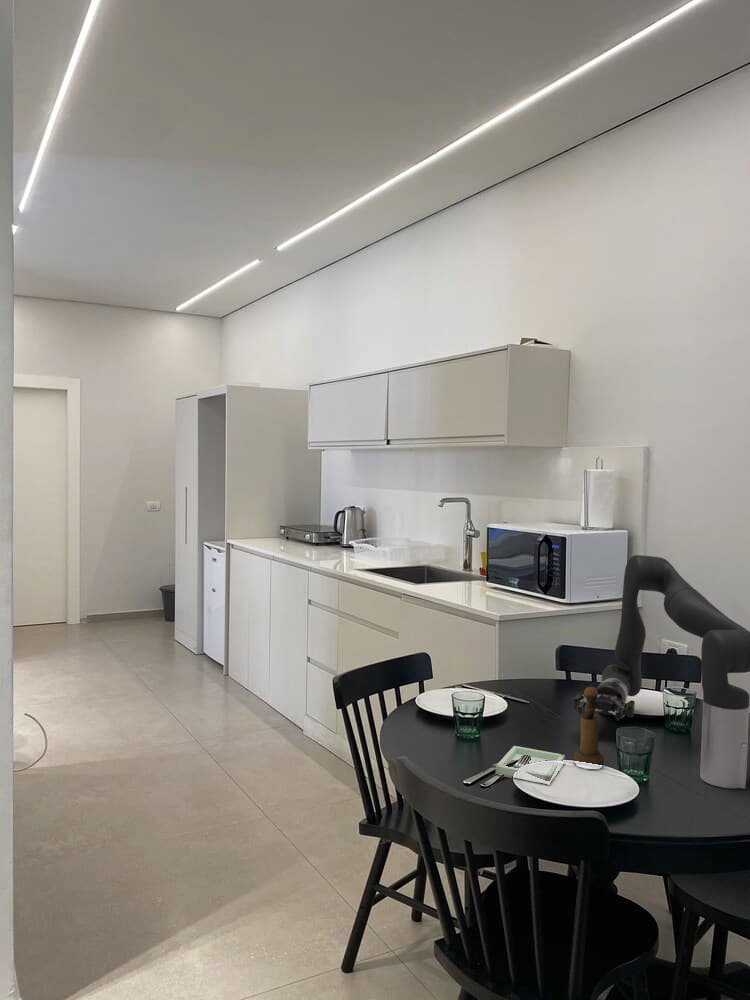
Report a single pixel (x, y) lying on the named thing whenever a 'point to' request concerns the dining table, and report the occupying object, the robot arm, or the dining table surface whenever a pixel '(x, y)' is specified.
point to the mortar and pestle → (589, 732)
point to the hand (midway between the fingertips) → (598, 713)
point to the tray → (535, 757)
